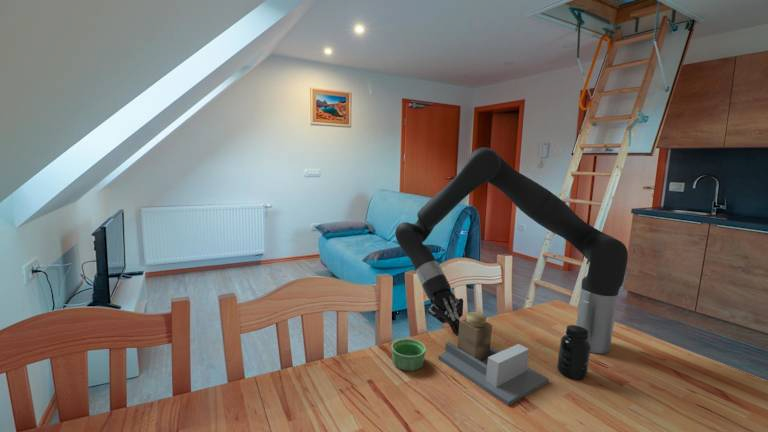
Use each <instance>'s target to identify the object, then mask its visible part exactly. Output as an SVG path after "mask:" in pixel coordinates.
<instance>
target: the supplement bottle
mask: <svg viewBox="0 0 768 432" xmlns="http://www.w3.org/2000/svg"><path fill="white" fill-rule="evenodd" d="M587 339H588V330H587V329H585V328H583V327H580V326H576V325H574V324H570V325H568V326H566V330H565V334H564V335H563V336H562V337H561V339H560V343H559V349H558V350H559V352H558V356H557V357H558V359H557V365H556V366H557V367H556V368H557V370H558V372H559V373H560V374H561V375H562V376H564V377H566V378H568V379H571V380H576V381H583V380H584V379H586V378H587V376H588V372H589V371H588V370H589V364H590V355H591V352H590V350H591V345H590V343H589V341H588V340H587Z"/></svg>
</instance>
